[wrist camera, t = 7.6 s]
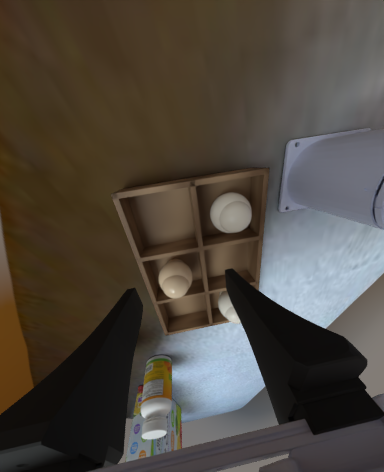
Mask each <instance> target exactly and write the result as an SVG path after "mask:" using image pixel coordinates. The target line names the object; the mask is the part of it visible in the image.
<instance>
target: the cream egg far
mask: <svg viewBox="0 0 384 472" xmlns="http://www.w3.org/2000/svg"><path fill="white" fill-rule="evenodd" d="M219 294H220V296H219V299H218V307H219V310H220V312H221V313H222V315H223V316H224V317H226V318H227V319H228V320H229V321H230V322H232V323H234V324H240V323H241V322H240V319H239V317H238V315H237V313H236V311H235V309H234V307H233V305H232V303H231V301H230V298H229V295H228V293H227V290H226V291H221V292H219Z"/></svg>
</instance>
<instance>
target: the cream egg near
mask: <svg viewBox="0 0 384 472" xmlns="http://www.w3.org/2000/svg"><path fill="white" fill-rule="evenodd" d="M251 217H252V210H251V205H250V203H249V201H248V200H247V199H246V198H245V197H244V196H243V195H241V194H238V193H234V192H230V193H225V194H222V195H220V196H219V197H218V198H217V199H216V200H215V201H214V202H213V204H212V206H211V209H210V218H211V221H212V223H213V225H214V226H215V227H216V228H217V229H218V230H220V231H222V232H225V233H236V232H240V231H242V230H244V229H245V228H246V227H247V226H248V225H249V224H250V221H251Z"/></svg>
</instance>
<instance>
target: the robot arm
mask: <svg viewBox="0 0 384 472" xmlns="http://www.w3.org/2000/svg"><path fill="white" fill-rule="evenodd" d="M295 143H297V146H296V147H295ZM286 207H287V208H286ZM285 208H286V209H285ZM304 208H313V209H316V210H319V211H323V212H326V213H329V214H333V215H336V216H339V217H343V218H346V219H349V220H353V221H356V222H359V223H363V224H366V225H369V226H373V227H376V228H380V229H383V230H384V128H382V129H377V130H371V129H370V128H365V129H358V130H352V131H345V132H339V133H333V134H326V135H320V136H314V137H307V138H301V139H295V140H290V141H289V142H288V143H287V145H286V151H285V159H284V167H283V175H282V182H281V190H280V198H279V206H278V211H279V212H288V211H293V210H299V209H304ZM225 281H226V290H227V293H228V295H229V298H230V301H231V303H232V305H233V307H234V309H235V311H236V313H237V315H238V317H239V319H240V322H241V324H242V326H243V328H244V330H245V332H246V334H247V337H248V340H249V342H250V345H251V347H252V350H253V353H254V355H255V358H256V361H257V363H258V366H259V369H260V372H261V374H262V377H263V380H264V383H265V385H266V388H267V391H268V394H269V397H270V400H271V403H272V406H273V409H274V412H275V415H276V418H277V421H278V423H279V425H277V426H273V427H269V428H265V429H261V430H257V431H253V432H248V433H244V434H240V435H236V436H232V437H228V438H223V439H219V440H216V441H211V442H207V443H203V444H199V445H195V446H191V447H187V448H182V449H178V450H174V451H170V452H166V453H162V454H158V455H153V456H149V457H145V458H141V459H137V460H133V461H129V462H125V463H121V464H118V462H119V461H120V459H121V458H122V456H123V452H124V438H125V424H126V413H127V403H128V393H129V385H130V376H131V369H132V362H133V356H134V351H135V347H136V343H137V338H138V334H139V329H140V325H141V320H142V312H143V304H142V302H141V300H140V297H139V295H138V293H137V291H136V289H135V288H132V289H127V291H126V292H125V293H124V294H123V296H122V297H121V298H120V300H119V301H118V302H117V303H116V305H115V306H114V307H113V309H112V310H111V311H110V312H109V314H108V315H107V316H106V317H105V318H104V320H103V321H102V322H101V323H100V324H99V326H98V327H97V328H96V329H95V330H94V331H93V332H92V334H91V335H90V336H89V337H88V338H87V339H86V340H85V341H84V342H83V343H82V344H81V345H80V346H79V347H78V348H77V349H76V350H75V351H74V352H73V353H72V354H71V355H70V356H69V357H68V358H67V359H66V360H65V361H64V362H63V363H62V364H60V365H59V366H58V367H57V368H56V369H55V370H54V371H53V372H52V373H50V374H49V375H48V376H47V377H46V378H45V379H44V380H42V381H41V382H40V383H39V384H38V385H37V386H35V387H34V388H33V389H32V390H31V391H29V392H28V393H27V394H26V395H24V396H23V397H22V398H21V399H19V400H18V401H17V402H16V403H14V404H13V405H12V406H11V407H9V408H8V409H7V410H6V411H4V412H3V413H2V414H1V415H0V472H216V471H220V470H224V469H228V468H232V467H236V466H240V465H244V464H248V463H252V462H256V461H260V460H264V459H268V458H272V457H276V456H280V455H284V454H288V453H289V456H288V458H286V459H282V460H279V461H277V462H274V463H271V464H268V465H266V466H263V467H260V469H259V472H384V394H380V395H377V396H375V397H373V398H371V397H370V396H369V394H368V393H367V392H366V391H365V390H364V389H366V386H365V384H364V383H363V382H362V381H361V380H360V379H359V375H360V374H361V373H362V372H363V371H364V369H365V368H366V366H367V359H366V358H365V357H364V356H363V355H362V354H361V353H360V352H359V351H358V350H357V349H356V348H355V347H354V346H353V345H352V344H351V343H350V342H349V341H348V340H347V339H346V338H344V337H343V336H341V335H338V334H336V333H334V332H331V331H329V330H327V329H325V328H322V327H320V326H318V325H316V324H314V323H312V322H310V321H308V320H306V319H304V318H302V317H300V316H298V315H296V314H294V313H293V312H291V311H289V310H287V309H285V308H284V307H282V306H280V305H279V304H277V303H276V302H274V301H272V300H271V299H269V298H268V297H267V296H265V295H264V294H262V293H261V292H260V291H258V290H257V289H256V288H255V287H253V286H252V285H251V284H250V283H248V282H247V281H246V280H245V279H244V278H243V277H241V276H240V275H239V274H238V273H237V272H236V271H235V270H234V269H233V268H231V269H226V270H225Z"/></svg>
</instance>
